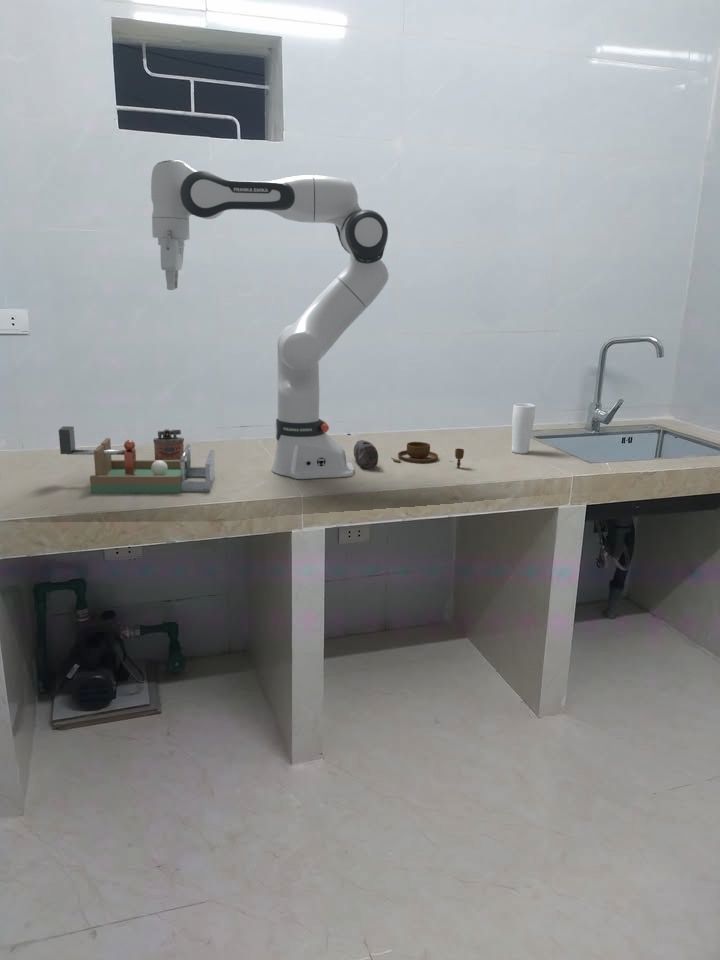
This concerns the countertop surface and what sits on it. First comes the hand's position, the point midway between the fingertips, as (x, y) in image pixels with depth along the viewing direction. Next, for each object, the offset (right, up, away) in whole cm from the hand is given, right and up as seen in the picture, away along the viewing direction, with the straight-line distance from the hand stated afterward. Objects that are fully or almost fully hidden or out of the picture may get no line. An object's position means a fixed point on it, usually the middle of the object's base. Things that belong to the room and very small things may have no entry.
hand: (172, 289), depth 187 cm
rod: (-17, -46, -2) cm, 49 cm away
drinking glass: (+97, -39, +46) cm, 115 cm away
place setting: (+66, -43, +31) cm, 85 cm away
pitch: (-8, -49, 0) cm, 49 cm away
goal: (+6, -49, +2) cm, 49 cm away
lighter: (-5, -44, +18) cm, 48 cm away
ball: (-3, -45, 0) cm, 45 cm away
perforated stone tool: (+48, -44, +26) cm, 70 cm away
